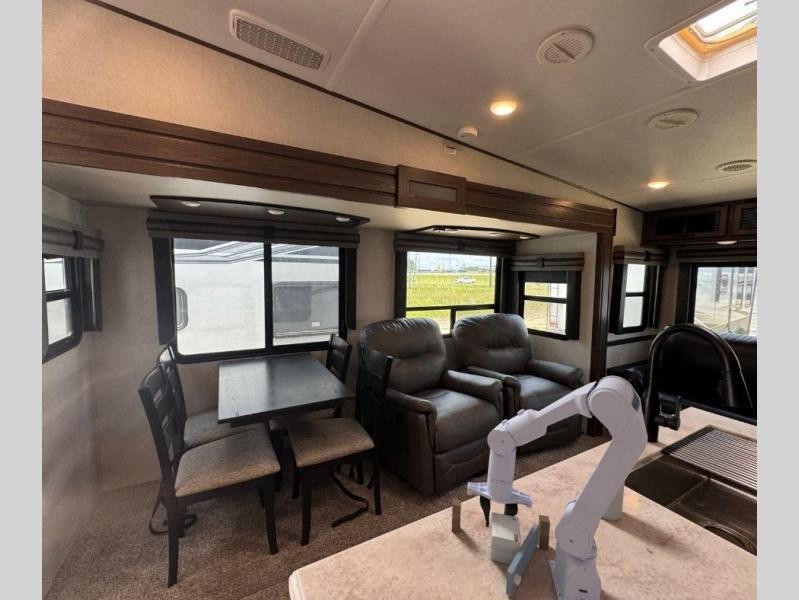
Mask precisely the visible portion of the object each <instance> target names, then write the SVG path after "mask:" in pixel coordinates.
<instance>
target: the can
mask: <svg viewBox="0 0 799 600" xmlns="http://www.w3.org/2000/svg"><path fill="white" fill-rule="evenodd" d="M597 464H598V463H596V464H594V467H593V468H592V469H591V471H590V476H591V475H592V473H593V471H594V469H595V468H596V466H597ZM625 481H626V480H625ZM625 481H624V483H623V484H622V486H621V487H620V489H619V490H618V492H617V494H616V495H615V497H614V498H613V500H612V502H611V503H610V505H609V506H608V508H607V509H606V511H605V513H604V514H603V516H602V517H601V519H604V520H606V521H607V520H608V521H616V520H619V519H621V518H622V516H623V508H624V507H623V505H624V493H625V483H626V482H625Z"/></svg>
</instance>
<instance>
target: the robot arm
mask: <svg viewBox="0 0 799 600" xmlns="http://www.w3.org/2000/svg"><path fill="white" fill-rule="evenodd" d="M596 383H597V385H596ZM516 414H517V415H515V416H513V417H512V418H510V419H507V418H506V419H504V420H502V421H501V422H500V423H499V424H498V425H497V426H495V428H493V429H492V430H491V431H490V432H489V433H488V435H487V444H488V447H489V449H490V450H489V459H488V472H487V479H486V480H487V482H470V481H469V482H467V491H466V494H467V495H468V496H473V495H477V496H479V505H480V507H481V510H482V511H483V516H484V519H485V520H484V521H485V527H486V528H490V514H491V513H490V512H491V501H493V502H494V503H497V504H502V505H503V504H504V510H503V514H504V515H508V516H514V517H516V516H517V515H518V512H519V507H518V505H519V504H520V505H523V506H526V508H529V509H532V506H533V498H532V494H528V493H525V492H523V491H519V490H518V489H515V488H513V487H514V486H513V485H514V475H515V467H516V457H517V455H516V453H517V448H516V447H521V446H524V445H525V444H528V443H530V442H532V441H534V440H537V439H539V438H541V437H543V436H545V435H546V433H547V428H548V426H550V425H553V424H555V423H557V422H559V421H562V420H564V419H568V418H569V417H573V416H574V415H577V414H580V415H581V416H585V417H587V418H589V419H592V417H593V416H594V417H595V418H596V419H597V420H599V421H600V423H601V424H603V426H604V427H605V428H606V429H607V430H608V432H609V434H610V435H611V437H612V439H611V441H610V442H609V443H608V446H607V448H606V449H605V451H604V453H603V454H602V456H601V458H600V459H599V461H598V462H597V463H596V464H597V466H596V468H595V469H594V471H593V473H592V475H591V474H590V477H589V478H588V480H587V481H586V483H585V485H584V487H583V488H582V490H581V491H580V492H579V494H578V495H577V497H576V498H574V499H571V500H569V501H568V502H567V503H566V505H565V509H564V511H563V513H562V515H561V518H560V520H559V522H558V523H557V525H556V526H555V528H554V536H555V540H556V543H555V554H554V555H555V556H554V557H555V558H554V560H552V559H549V560H548V564H549V569H550V574H551V577H552V581H553V586H554V589H555V592H556V594H555V595H556V597H557V600H601V594H602V593H601V591H602V581H601V578H600V575H599V572H598V567H597V556H598V555H597V554H598V546H597V542H596V540H595V535H596V532H597V530H598V527H599V524H600V521H601V519H602V516H603V514H604V513H605V511H606V509H607V508H608V506H609V505H610V503H611V502H612V500H613V498H614V497H615V495H616V494H617V492H618V490H619V489H620V487H621V486H622V484H623V483H624V481H626V480H627V478H628V476H629V475H630V473H631V471H632V470H633V469H634V467H635V465H636V464H637V462H638V461H639V459H640V458H641V456H642V454H643V452H644V451H645V449H646V447H647V443H648V433H647V428H646V423H645V419H644V418H645V417H644V414H643V410H642V402H641V397H640V396H639V394H638V393H637V391H636V390H635V388H634V387H633V385H632V384H631V383H630V382H629V381H628V380H626V379H625V378H623V377H620V376H618V375H617V376H616V375H609V376H605V377H602V378H601V379H600V380H599V381H598V382H597V381H593V382H589V383H587V384H585V385H584V386H582V387H581V386H580V387H579V388H576V389H574V390H573V391H571V392H569V393H568V394H566V395H564V396H562V397H561V398H559V399H557V400H556V401H554V402H553V403H551V404H548V405H547V406H545V407H544V408H542V409H540V410H539V411H538V410H534V409H532V408H529V409H526V410H525V409H524V408H523V409H520V410H519V411H518V412H517V413H516ZM624 484H625V483H624Z"/></svg>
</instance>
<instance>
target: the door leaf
mask: <svg viewBox="0 0 799 600" xmlns="http://www.w3.org/2000/svg"><path fill="white" fill-rule="evenodd" d="M538 530H539V524H538V523H535V522H534V523H533V525H532V527H530V530H529V532H528V533H527V535H526V537H525V538H524V540H523V543H521V547H520V549H519V551H518V552H517V554H516V556H515V558H514V559H513V561H512V563H511V564H509V566H508V568H507V570H506V582H505V583H506V586H505V587H506V588H505V594H506V595H507V596H508V597H510V598H512V596H513V595H514V592H515V591H516V588H517V587H518V586H520V584H521V582H522V577H523V575H524V573H525V571H526V569H527V567H528V565H529V563H530V561H531V559H532V556H533V555H534V553H535V551H536V549H537V547H538Z"/></svg>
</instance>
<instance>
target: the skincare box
mask: <svg viewBox="0 0 799 600" xmlns="http://www.w3.org/2000/svg"><path fill="white" fill-rule="evenodd" d="M489 532H490V533H489V535H490V536H489V537H490V560H491V561H496V562H499V563H504V564H508V565H511V563H512V561H513V559H514V558H515V556H516V554H517V552H518V551H519V549H520V547H521V545H522V540H521V539H522V537H521V527H520V519H519V517H518V516H508V515H504V513H503V514H502V513H499V512H491V520H490V531H489Z"/></svg>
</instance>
